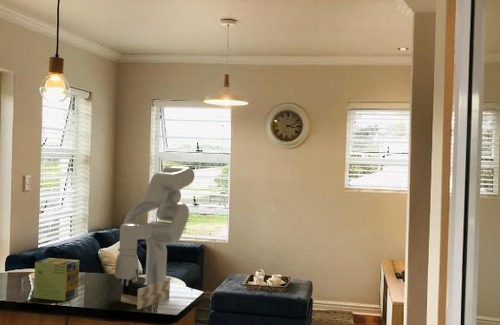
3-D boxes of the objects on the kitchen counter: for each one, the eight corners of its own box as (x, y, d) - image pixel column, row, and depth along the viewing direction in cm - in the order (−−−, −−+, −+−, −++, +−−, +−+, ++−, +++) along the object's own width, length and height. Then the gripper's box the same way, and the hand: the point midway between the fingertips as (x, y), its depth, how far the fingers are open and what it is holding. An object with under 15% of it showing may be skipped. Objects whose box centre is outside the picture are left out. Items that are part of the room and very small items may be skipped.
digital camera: (154, 301, 220) (154, 285, 220) (145, 304, 215) (146, 287, 215) (135, 297, 225) (136, 281, 225) (127, 300, 220) (127, 284, 220)
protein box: (65, 301, 215) (67, 264, 215) (32, 298, 218) (34, 261, 218) (78, 295, 226) (80, 260, 226) (47, 292, 229) (48, 257, 229)
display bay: (145, 293, 233) (145, 275, 233) (169, 297, 227) (170, 279, 227) (113, 304, 214) (114, 285, 214) (139, 309, 208) (140, 289, 208)
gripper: (108, 251, 224) (107, 293, 224) (136, 255, 217) (134, 298, 217) (120, 249, 231) (118, 289, 231) (147, 252, 224) (145, 294, 224)
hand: (126, 294), depth 224 cm, fingers closed
